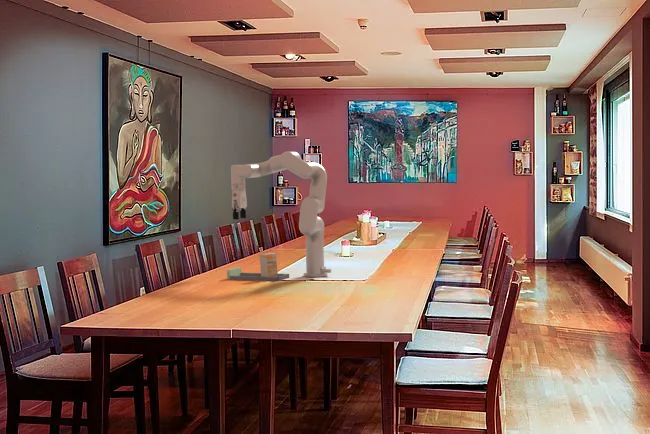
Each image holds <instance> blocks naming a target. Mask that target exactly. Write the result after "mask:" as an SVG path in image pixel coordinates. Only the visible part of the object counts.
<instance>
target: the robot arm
mask: <svg viewBox="0 0 650 434" xmlns="http://www.w3.org/2000/svg"><path fill="white" fill-rule="evenodd" d="M286 170H287V171H289V172H291V173H293V175H296V176H297V177H299V178H301V179H311V182H310V186H309V193H308V196H306V197H305V198H303V200H302V201H301V204H300V209H299V219H298V229H299V231H300V233H301V234H302V235H303V236H305V263H306V264H305V266H306V267H305V268H306V269H305V271H306V272H304V273H303V276H304V277H306V278H318V277H319V278H320V277H326V276H327V277H328V273H329V274H331V273H332V269H331V268H327V266H325V250H324V249H325V248H324V242H325V241H324V236H325V222H324V220H323V218H321V217H320V216H318V214H320V213H322V212H323V211H324V210H325V205H326V204H325V203H326V192H327V184H328V183H327V182H328V174H327V171H326V169H325V168H324V167H323V165H322V164H320V163H318V162H314V161H305V160H303V159H302V156H301V155H300V153H298V152H297V151H284V152H282V154H278V155H275V156H271V157H269V159H268V160H265V161H263V162H258V163H246V164H231V167H230V179H231V184H230V185H231V191H232V192H231V195H232V196H231V210H232V219H233V220H239V219H247V207H248V200H247V192H246V190H247V189H246V179H253V178H260V177H264V176H268V175H271V174H275V173H280V172H282V171H286ZM239 210H240V211H239Z"/></svg>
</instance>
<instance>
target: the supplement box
mask: <svg viewBox="0 0 650 434" xmlns="http://www.w3.org/2000/svg"><path fill="white" fill-rule="evenodd" d="M259 265H260V273H261V277H278V274H279V273H278V261H277V253H276V252H269V253H263V254H262V253H261V254H259Z"/></svg>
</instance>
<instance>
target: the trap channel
mask: <svg viewBox="0 0 650 434" xmlns="http://www.w3.org/2000/svg"><path fill="white" fill-rule="evenodd" d="M226 275H227V277H226V279H227V281H229V280H231V281H253V282H254V281H256V282H257V281H259V282H262V281H263V282H280V281H284V280H286V279H289V278H290V274H289V273H278V277H261V272H243V271H242V266H238V267H235V268H230V269H227V270H226Z"/></svg>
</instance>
